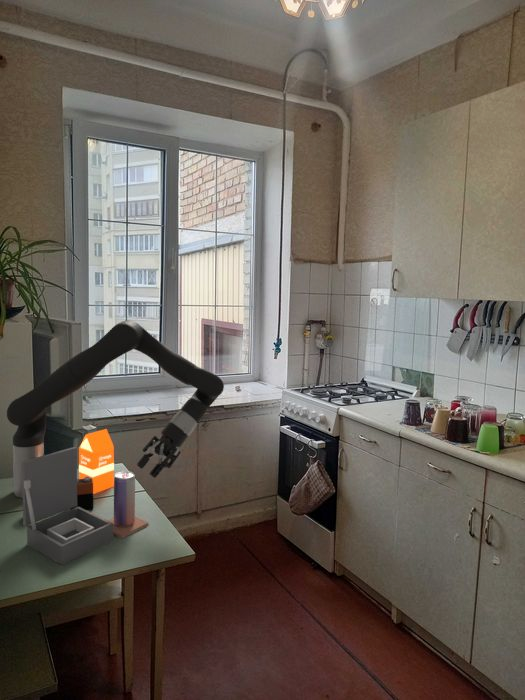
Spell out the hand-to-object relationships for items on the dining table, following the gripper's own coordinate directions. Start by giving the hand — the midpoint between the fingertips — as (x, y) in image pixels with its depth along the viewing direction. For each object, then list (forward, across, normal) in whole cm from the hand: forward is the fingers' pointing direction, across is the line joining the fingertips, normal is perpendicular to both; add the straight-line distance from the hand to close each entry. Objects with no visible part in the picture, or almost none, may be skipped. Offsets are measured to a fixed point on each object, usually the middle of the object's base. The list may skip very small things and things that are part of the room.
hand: (145, 471), depth 151 cm
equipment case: (+27, 0, -5) cm, 27 cm away
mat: (+16, 0, +6) cm, 17 cm away
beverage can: (+15, 0, +6) cm, 16 cm away
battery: (+20, -18, +2) cm, 27 cm away
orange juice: (+13, -31, +9) cm, 35 cm away
